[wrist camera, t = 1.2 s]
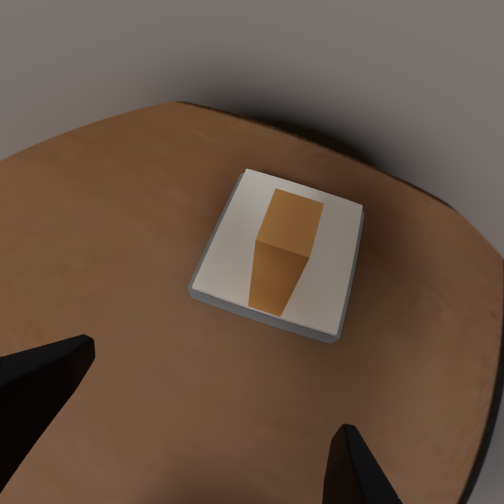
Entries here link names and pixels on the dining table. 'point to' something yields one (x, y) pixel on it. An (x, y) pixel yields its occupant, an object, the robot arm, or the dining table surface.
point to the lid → (283, 252)
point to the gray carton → (261, 316)
